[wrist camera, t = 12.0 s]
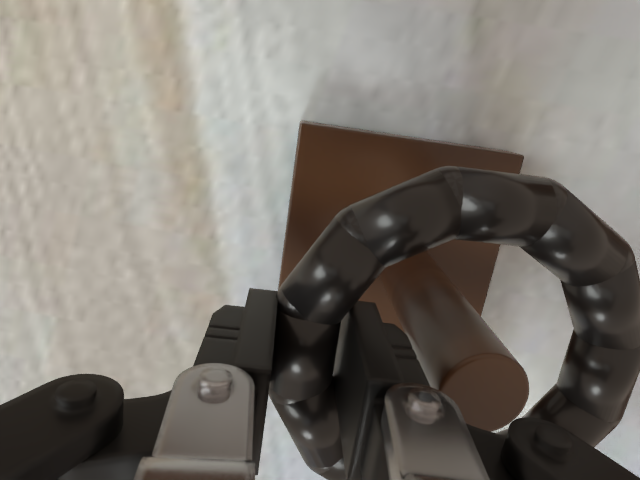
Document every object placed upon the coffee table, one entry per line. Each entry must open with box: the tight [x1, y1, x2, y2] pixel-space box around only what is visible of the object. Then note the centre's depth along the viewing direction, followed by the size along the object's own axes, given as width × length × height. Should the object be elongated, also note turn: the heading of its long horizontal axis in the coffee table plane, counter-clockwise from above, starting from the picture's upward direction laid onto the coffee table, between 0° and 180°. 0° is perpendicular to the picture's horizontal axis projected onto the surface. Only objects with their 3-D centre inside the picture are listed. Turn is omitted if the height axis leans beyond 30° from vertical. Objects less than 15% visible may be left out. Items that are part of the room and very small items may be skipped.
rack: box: [278, 121, 529, 432], centre depth 16 cm, size 9×9×12 cm
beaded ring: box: [268, 166, 640, 480], centre depth 12 cm, size 9×9×2 cm
